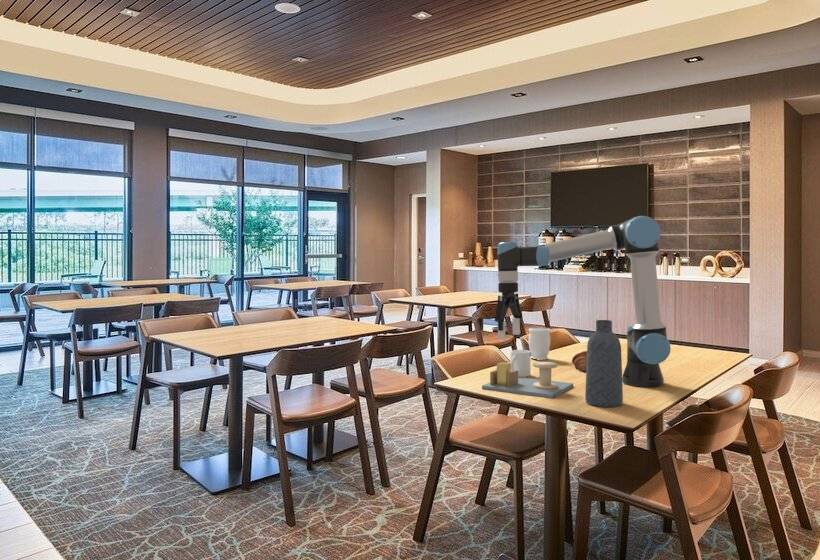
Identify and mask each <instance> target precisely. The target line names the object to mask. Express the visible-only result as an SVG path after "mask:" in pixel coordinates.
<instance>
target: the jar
mask: <svg viewBox="0 0 820 560" xmlns="http://www.w3.org/2000/svg"><path fill="white" fill-rule="evenodd" d="M528 332H529V334H528V347H529V351H530V359H531V358H533V359H547V360H549V357H548V355H549V352H550V346H551V335H550V332H551V328H547V327H531V328H528ZM533 359H532V360H533Z"/></svg>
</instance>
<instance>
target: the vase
mask: <svg viewBox="0 0 820 560" xmlns="http://www.w3.org/2000/svg"><path fill="white" fill-rule="evenodd" d="M588 338H589V339H587V340H588V341H587V345H586V351H587V364H586V373H585V393H584V394H585V395H584V396H585V398H584V400H585V403H587V405H591V406H595V407H600V408H601V407H602V408H615V407H620V406H622V405H623V402H624V394H623V393H624V390H623V382H622V376H623V364H622V363H623V362H622V346H621V345H622V344H621V340H620V338H619V337H618V335H616V334H615V333H614V332H613V322H612V320H608V319H596V320H595V332H593V333H592V334H591V335H590V336H589V337H588Z"/></svg>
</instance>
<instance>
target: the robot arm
mask: <svg viewBox="0 0 820 560" xmlns="http://www.w3.org/2000/svg"><path fill="white" fill-rule="evenodd" d="M660 239H661V227H660V225H659V223H658V222H657V221H656V220H655V219H654V218H652V217H649V216H646V215H638V216H634V217H632V218H630V219H628V220H625V221H623V222H621V223H618V224H615V225H610V226H609V227H608V229H605V230H600V231H596V232H592V233H588V234H587V233H586V234H583V235H578V236H575V237H570V238H566V239H561V240H557V241H553V242H549V243H544V244H539V245H536V246H534V245H533V246H519V245H518V242H516V241H505V242H503V241H502V242H499V243H498V244H497V278H498V279H497V281H498V285H497V286H498V288H497V290H498V291H497V292H499V293H501V295H498V296H497V303H496V304H497V305H496V309H495V315H494V322H496V323H497V339H498V340H506V321H505V319H506V315H507V312H508V310H510V312H511V314H512V317H513V318H512V335H514V336H515V335H517V336H520V334H521V328H520V327H521V326H520V325H521V324H520V323H521V322H520V319H522V318H523V312H522V307H521V304H520V300H519V293H518V292H519V283H518V282H517V281H519V271H518V270H519V269H518V267H543V266H549V265H550V263H551V262H555V261H556V262H557V261H561V260H566V259H569V258H574V257H579V256H583V255H589V254H593V253H596V252H603V251H606V250H607V251H608V250H611V249H613V250H614V251H619V250H624V253H625V254H624V255H625V256H627V257H628V258H629V259H630V260H629V261H630V269H631V270H630V271H631V283H632V294H633V305H634V315H635V316H634V317H635V318H634V319H635V323H634V324H630V325H628V326H627V329H626V334H627V335H626V341H627V342H626V346H627V347H626V348H627V349H626V351H627V352H626V353H627V354H626V358H627V359H626V365H625V367H624V371H623V372H622V384H626V385H629V386H635V387H641V388H642V387H643V388H652V387H653V388H654V387H661V386H664V383H665V377H664V376H663V375H664V374H663V373H662V372H663V371H662V370H661V367H660V364H661V363H663V362H665V361H666V360H667V358H668V357H670V355H671V354H670V353H671V348H672V347H671V344H670V341H669V339H668V336H667V335H668V334H667V326H666V324H664V323H663V322H662V320H661V318H662V317H661V309H660V296H659V284H658V275H657V263H656V261H657V260H656V256H657V255H658V254H659V252H660V244H659V240H660Z"/></svg>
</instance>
